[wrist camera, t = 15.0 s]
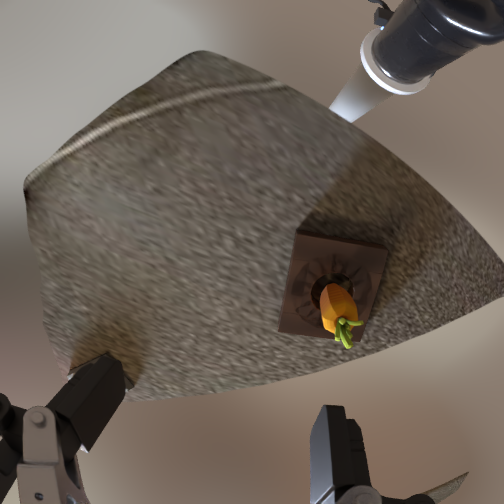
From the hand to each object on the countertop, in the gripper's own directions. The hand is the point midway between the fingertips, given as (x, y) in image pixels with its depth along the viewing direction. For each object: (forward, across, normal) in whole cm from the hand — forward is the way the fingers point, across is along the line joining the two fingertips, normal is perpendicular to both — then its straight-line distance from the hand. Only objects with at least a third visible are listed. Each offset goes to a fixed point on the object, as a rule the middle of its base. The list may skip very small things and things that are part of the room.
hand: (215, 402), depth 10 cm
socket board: (+34, -11, +8) cm, 37 cm away
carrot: (+34, -11, +8) cm, 37 cm away
